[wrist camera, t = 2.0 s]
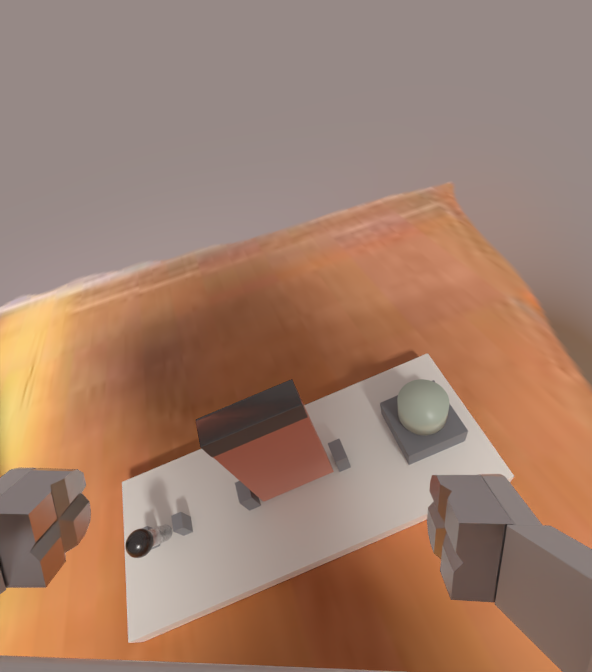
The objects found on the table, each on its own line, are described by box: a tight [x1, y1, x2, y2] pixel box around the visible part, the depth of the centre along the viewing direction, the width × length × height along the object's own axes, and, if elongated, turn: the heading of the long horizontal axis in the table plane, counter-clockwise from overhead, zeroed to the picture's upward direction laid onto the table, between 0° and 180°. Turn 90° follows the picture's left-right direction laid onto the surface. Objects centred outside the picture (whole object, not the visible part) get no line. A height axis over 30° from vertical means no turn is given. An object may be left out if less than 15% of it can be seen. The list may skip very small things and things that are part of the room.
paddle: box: [196, 379, 334, 502], centre depth 27 cm, size 2×6×12 cm, turn 109°
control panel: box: [122, 353, 514, 643], centre depth 32 cm, size 12×30×4 cm, turn 109°
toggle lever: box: [125, 524, 172, 558], centre depth 28 cm, size 2×2×5 cm
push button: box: [397, 379, 449, 435], centre depth 29 cm, size 4×4×2 cm
